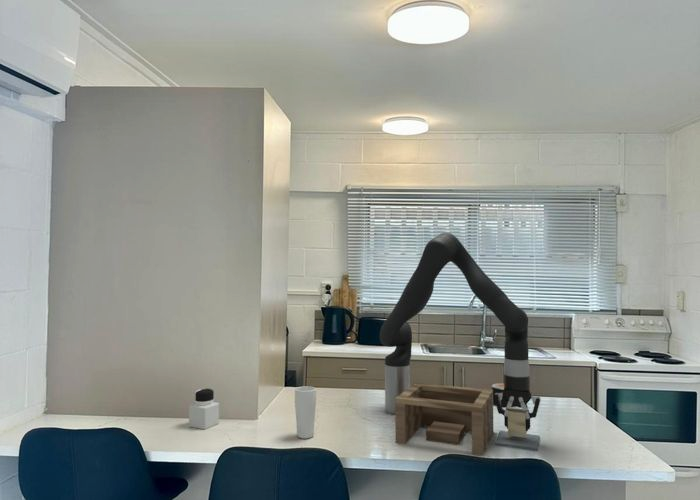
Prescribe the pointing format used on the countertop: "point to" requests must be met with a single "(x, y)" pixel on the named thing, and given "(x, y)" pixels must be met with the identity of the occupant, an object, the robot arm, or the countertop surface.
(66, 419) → the countertop surface
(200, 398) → the medicine bottle
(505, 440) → the grey mat
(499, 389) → the sushi
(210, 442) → the countertop surface
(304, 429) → the drinking glass
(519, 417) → the maple block
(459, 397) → the frame
